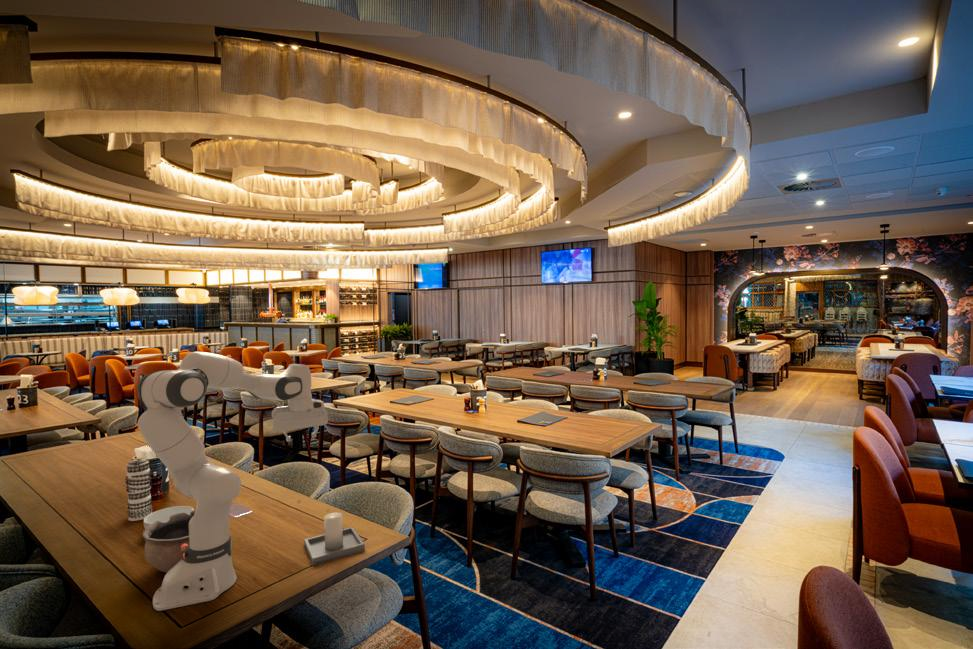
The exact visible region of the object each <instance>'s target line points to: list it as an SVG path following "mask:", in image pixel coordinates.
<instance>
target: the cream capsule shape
mask: <svg viewBox="0 0 973 649" xmlns="http://www.w3.org/2000/svg"><path fill="white" fill-rule="evenodd" d="M323 527H324V528H323V529H324V531H323V532H324V535H325V549H327V550H336V549H339V548H341V547H342V546H343V529H344V528H343V513H341V512H337V511H336V512H331V513H327V514H326V515H324V517H323Z"/></svg>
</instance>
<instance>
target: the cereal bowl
mask: <svg viewBox="0 0 973 649" xmlns="http://www.w3.org/2000/svg"><path fill="white" fill-rule="evenodd" d="M192 511H195V509H194V508H193V507H192V506H189V505H176V506H170V507H165V508H161V509H159V510H156V511H152V513H151V514H149V515H148V516H146V517H145V518H144V519H143V527H144V530H145V529H146V528H147V527H148V526H149V525H150V524H152V523H154V522H156V521H160V522H163V523H165V522H168V521H169V519H170V516H172V515H176V514H179V513H187V514H189V515H190V512H192Z"/></svg>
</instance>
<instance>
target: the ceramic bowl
mask: <svg viewBox="0 0 973 649" xmlns="http://www.w3.org/2000/svg"><path fill="white" fill-rule="evenodd" d="M195 511H196V510H194V511H192V512H190V515H189V514H187V513H179V514H176V515H172V516H170V519H169V521H168V522H165V523H163V522H160V521H156V522H154V523H152V524H150V525H149V526H148V527H147V528H146V529H145V528H144V530H143V532H142V537H143V539H144V541H145V543H144V550H143V551H144V557H145V560H146V561H147V562H148V563H149V564H150V565H151V566H152V567H153V568H154V569H156V570H158V571H160V572H163V573H167V572H168V571H169V570H170V569H171V568H173V567H174V566H175V565H176V564H177V563H178V562H179V561H181V560H182V551H181V546H182V545H183V544H187V545H189V521H190V519H191V518H192V517H193V516H194V514H195Z"/></svg>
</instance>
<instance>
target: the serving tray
mask: <svg viewBox="0 0 973 649" xmlns="http://www.w3.org/2000/svg"><path fill="white" fill-rule="evenodd" d="M303 543H304V548H305V550H306V552H307V555H308V558H309V559H310V562H311V565H312V564H313V565H314V566H317V565H320V564H325V563H326V562H330V561H335V560H338V559H340V558H344V557H347V556H351V555H354V554H359V553H362V552H365V551H366V547H365V545H366V544H365V542H364V541H363V539H362V538H361V537H360V535H359V533H358V532H357V531H356V529H355V528H354V527H353V526H351V527H347V528H343V546H342V547H341V548H339V549H336V550H327V549H325V535H324V534H320V535H316V536H312V537H308V538H304V542H303ZM313 565H312V566H313Z"/></svg>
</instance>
